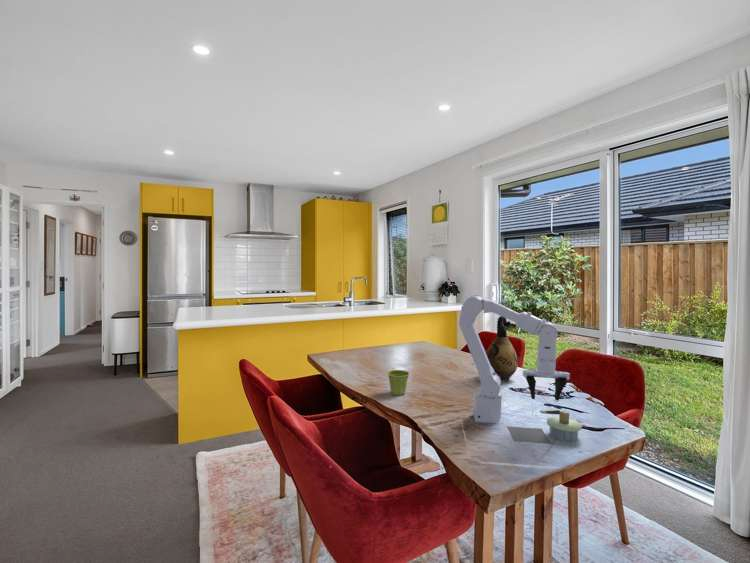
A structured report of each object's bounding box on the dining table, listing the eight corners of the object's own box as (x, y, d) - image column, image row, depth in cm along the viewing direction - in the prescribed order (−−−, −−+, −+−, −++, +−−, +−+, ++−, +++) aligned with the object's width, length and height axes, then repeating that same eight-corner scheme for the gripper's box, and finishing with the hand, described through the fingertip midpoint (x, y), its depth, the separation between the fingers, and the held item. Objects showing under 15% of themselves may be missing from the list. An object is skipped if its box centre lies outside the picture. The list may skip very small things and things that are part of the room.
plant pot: (407, 397, 164) (408, 376, 164) (385, 395, 166) (385, 375, 166) (410, 390, 174) (410, 370, 173) (388, 389, 175) (389, 369, 175)
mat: (514, 442, 124) (514, 440, 124) (507, 428, 135) (507, 426, 135) (551, 445, 123) (551, 443, 123) (541, 430, 134) (541, 428, 133)
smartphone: (568, 428, 136) (568, 425, 136) (539, 412, 151) (539, 409, 151) (586, 427, 138) (586, 424, 138) (556, 411, 153) (556, 408, 153)
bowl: (554, 441, 125) (554, 429, 125) (546, 431, 133) (546, 419, 133) (581, 443, 124) (582, 430, 124) (572, 432, 132) (572, 420, 132)
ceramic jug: (521, 383, 186) (523, 319, 185) (488, 383, 186) (489, 318, 185) (510, 373, 203) (512, 314, 202) (479, 373, 203) (480, 313, 202)
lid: (552, 430, 124) (553, 417, 124) (542, 418, 134) (543, 406, 133) (586, 432, 123) (587, 419, 122) (574, 419, 132) (575, 407, 132)
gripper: (526, 360, 132) (525, 401, 132) (573, 362, 130) (571, 404, 130) (521, 355, 139) (520, 394, 139) (566, 357, 137) (564, 397, 137)
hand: (544, 398), depth 135 cm, fingers open, 7 cm apart
